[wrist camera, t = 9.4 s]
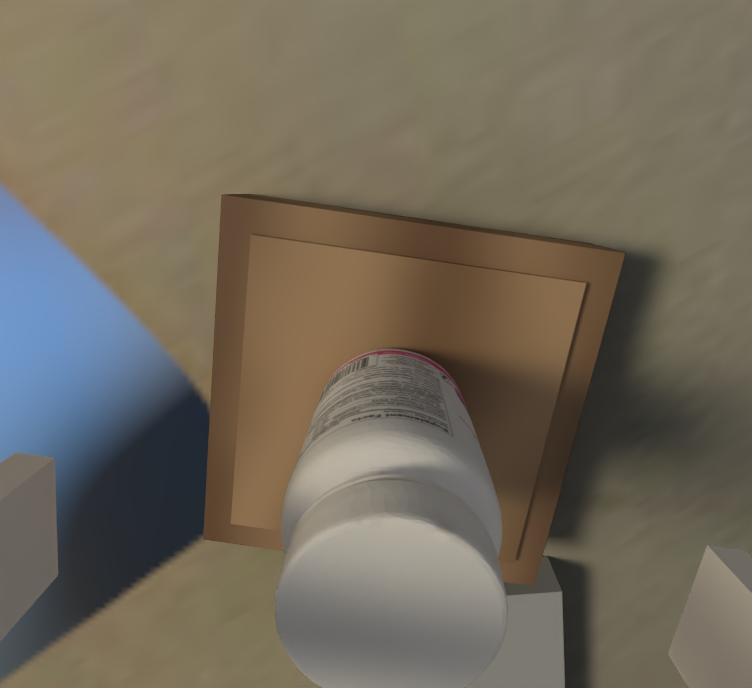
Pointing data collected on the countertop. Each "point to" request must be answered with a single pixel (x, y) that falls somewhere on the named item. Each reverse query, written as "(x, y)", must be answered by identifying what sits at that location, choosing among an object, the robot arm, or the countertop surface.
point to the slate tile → (530, 637)
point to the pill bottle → (391, 534)
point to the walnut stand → (398, 331)
